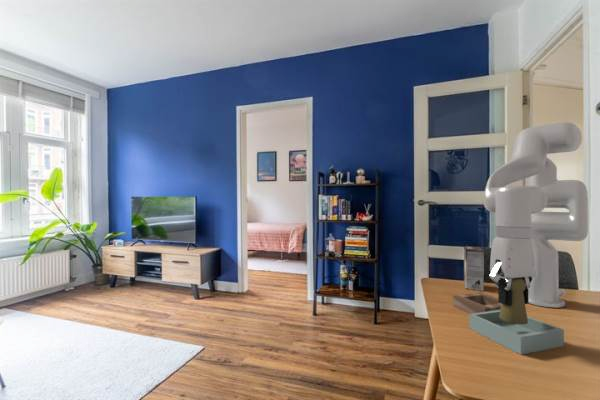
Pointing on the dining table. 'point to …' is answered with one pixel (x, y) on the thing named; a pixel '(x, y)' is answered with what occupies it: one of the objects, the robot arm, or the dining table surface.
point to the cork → (515, 304)
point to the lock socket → (476, 303)
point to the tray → (517, 332)
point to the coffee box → (474, 268)
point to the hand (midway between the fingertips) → (513, 302)
